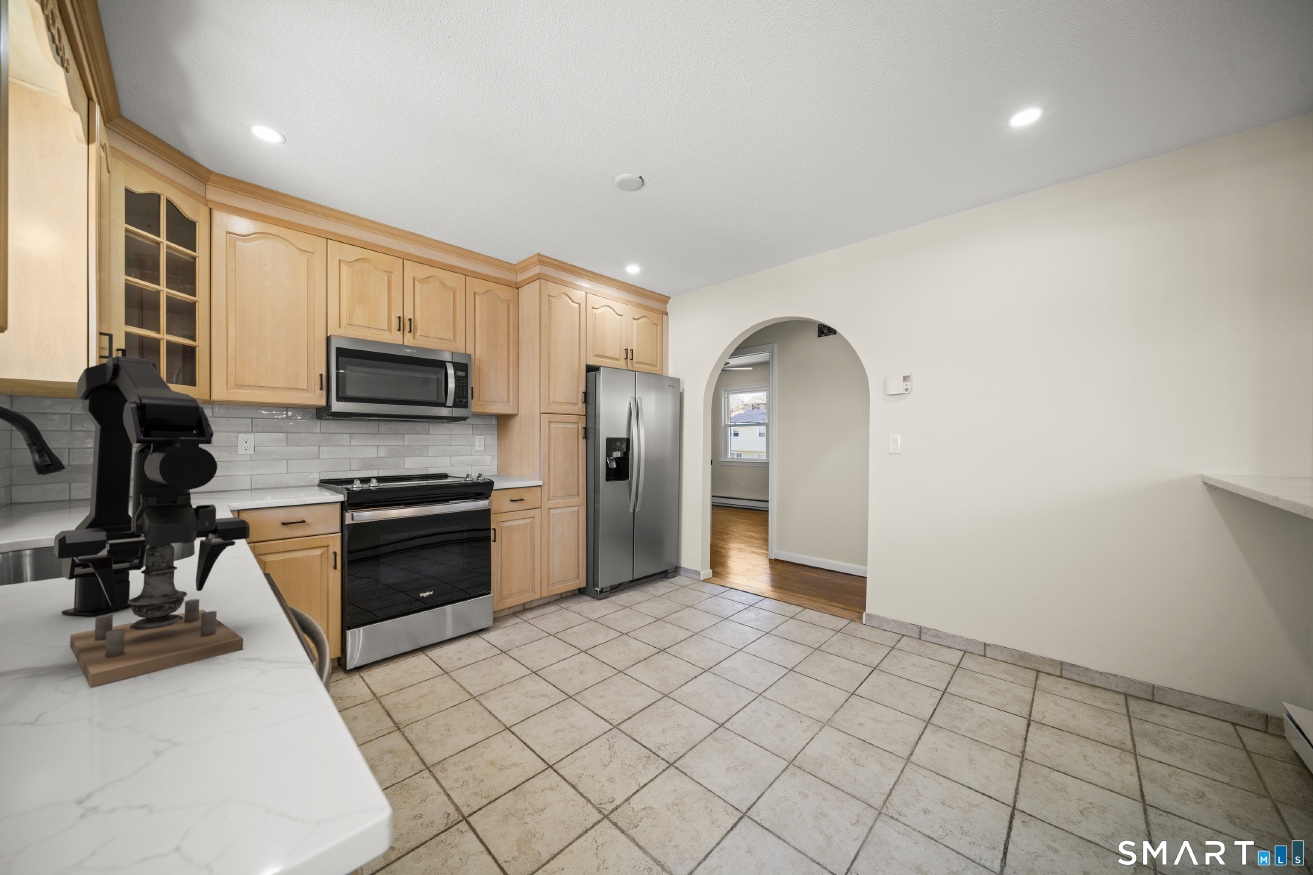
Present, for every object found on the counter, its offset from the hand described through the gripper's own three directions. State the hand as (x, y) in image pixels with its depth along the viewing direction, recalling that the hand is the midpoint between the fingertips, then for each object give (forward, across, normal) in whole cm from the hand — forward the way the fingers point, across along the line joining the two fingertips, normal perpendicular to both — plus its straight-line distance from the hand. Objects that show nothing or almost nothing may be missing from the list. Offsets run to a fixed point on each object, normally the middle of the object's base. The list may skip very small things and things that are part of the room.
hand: (157, 597), depth 69 cm
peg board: (+7, 0, 0) cm, 7 cm away
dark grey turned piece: (+4, 0, 0) cm, 4 cm away
